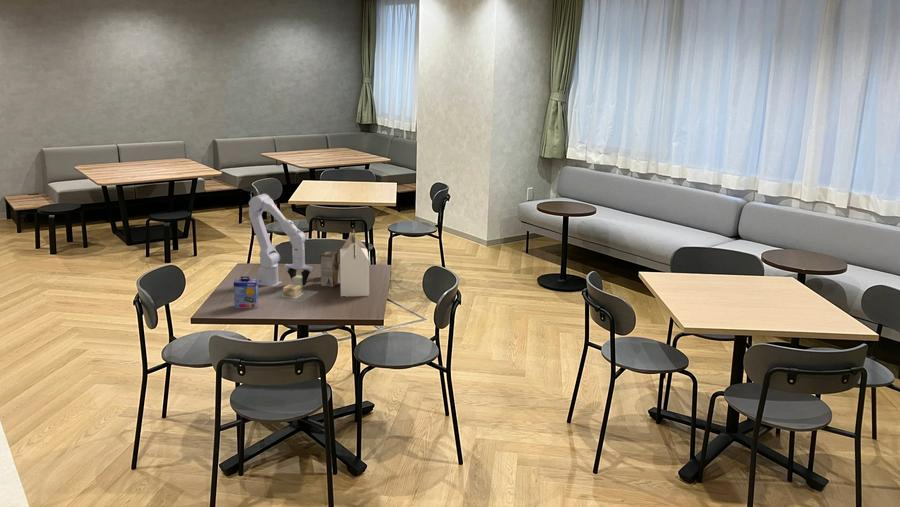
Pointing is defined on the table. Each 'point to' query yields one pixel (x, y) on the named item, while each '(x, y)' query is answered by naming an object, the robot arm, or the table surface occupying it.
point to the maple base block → (292, 290)
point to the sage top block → (298, 281)
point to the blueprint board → (300, 298)
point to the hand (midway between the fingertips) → (299, 284)
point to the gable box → (354, 267)
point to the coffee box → (329, 268)
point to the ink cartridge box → (246, 293)
